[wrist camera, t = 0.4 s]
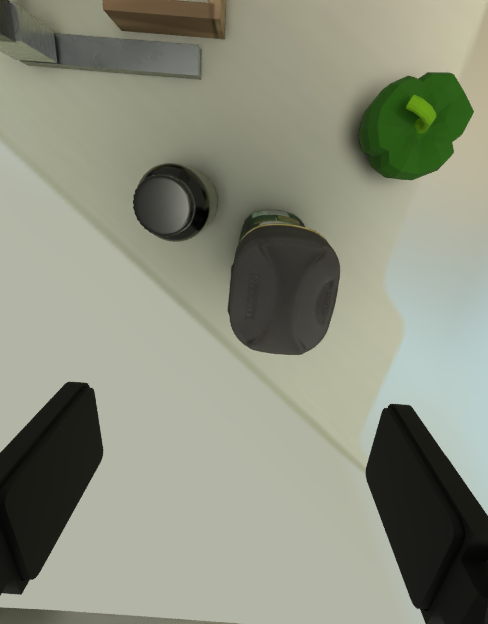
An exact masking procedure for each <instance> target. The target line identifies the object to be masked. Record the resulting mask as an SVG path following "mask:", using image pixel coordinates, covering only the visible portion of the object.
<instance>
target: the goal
mask: <svg viewBox="0 0 488 624" xmlns="http://www.w3.org/2000/svg"><path fill="white" fill-rule="evenodd" d="M103 10H104V11H105V12H106V13H107V14H108V16H109V17H110V18H111V19H112V20H113V21H114V22H115V24H116V25H117V26H118V27H119V28H120V29H121V30H122V31H132V32H145V33H157V34H169V35H182V36H194V37H206V38H219V39H225V17H226V0H209V3H202V2H189V1H177V0H103Z"/></svg>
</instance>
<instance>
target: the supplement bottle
mask: <svg viewBox="0 0 488 624" xmlns="http://www.w3.org/2000/svg"><path fill="white" fill-rule="evenodd" d="M133 204H134V207H133V208H134V210H135V215H136V216H137V220H138V221H140V224H141V225H142V226H144V228H145V229H147V230H148V231H149V232H151V233H153V234H154V235H155V236H157V237H159V238H161V239H164V240H167V241H173V242H178V241H184V240H188V239H190V238H192V237H194V236H195V235H197V234H198V233H199V232H200V231H201V230H203V229H204V228H205V227H206V226H207V225H208V224H209V223H210V222H211V221H212V219H213V218H214V216H215V214H216V211H217V206H218V197H217V192H216V189H215V187H214V185H213V183H212V182H211V180H210V179H209V178H208V177H207V176H206V175H205V174H203V173H202V172H200V171H198V170H196V169H193V168H190V167H186V166H183V165H179V164H173V163H167V164H161V165H158V166H155V167H153V168H152V169H150V170H149V171H148V172H147V173H146V174H145V175H144V176H143V177H142V179H141V180H140V182H139V184H138V187H137V189H136V190H135V194H134V200H133Z"/></svg>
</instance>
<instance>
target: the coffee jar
mask: <svg viewBox="0 0 488 624" xmlns="http://www.w3.org/2000/svg"><path fill="white" fill-rule="evenodd" d="M339 278H340V264H339V260H338V257H337V255H336V253H335V251H334V250H333V248H332V247H331V246H330V245H329V244H328V242H327V240H326V239H325V238H324V237H323V236H322V235H320V234H319V233H317V232H316V231H314V230H311V229H308V228H306V227H305V226H304V224H303V223H302V221H301V220H300V219H299V218H298V217H296V216H295V215H293V214H290V213H287V212H282V211H276V210H262V211H258V212H255V213H253V214H251V215H250V216H249V217H248V218H247V219H246V221H245V222H244V224H243V227H242V231H241V235H240V240H239V245H238V247H237V250H236V253H235V259H234V263H233V265H232V267H231V281H230V293H229V302H228V313H229V315H230V323H231V327H232V330H233V332H234V334H235V335H236V337H237V338H238V339H239V340H240V341H241V342H242V343H243V344H244V345H246V346H247V347H249V348H250V349H252V350H256V351H260V352H266V353H273V354H284V355H301V354H303V353H305V352H307V351H309V350H311V349H312V348H314V347H315V346H316V345H318V344H319V343H320V342H321V340H322V339H323V338H324V336H325V334H326V332H327V330H328V327H329V324H330V320H331V317H332V314H333V310H334V306H335V302H336V297H337V291H338V284H339Z"/></svg>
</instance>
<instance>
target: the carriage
mask: <svg viewBox="0 0 488 624" xmlns="http://www.w3.org/2000/svg"><path fill="white" fill-rule="evenodd" d="M0 52H2V53H4V54H6V55H8V56H10V57H12V58H14V59H16V60H27V61H40V62H52V63H57V55H56V47H55V39H54V31H52V30H51V29H50V28H48V27H47V26H45V25H44V24H43V23H41V22H40V21H39V20H37V19H36V18H35V17H33V16H32V15H31V14H29V13H28V12H27V11H25V10H24V9H23V8H21V7H20V6H19V5H17V4H15V3H10V2H9V1H8V0H0Z"/></svg>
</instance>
